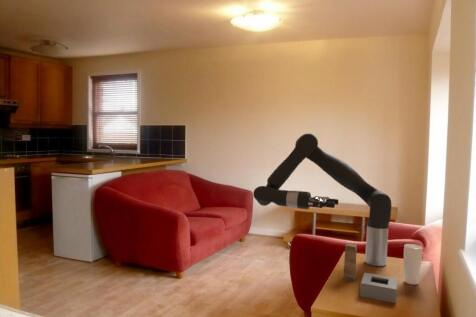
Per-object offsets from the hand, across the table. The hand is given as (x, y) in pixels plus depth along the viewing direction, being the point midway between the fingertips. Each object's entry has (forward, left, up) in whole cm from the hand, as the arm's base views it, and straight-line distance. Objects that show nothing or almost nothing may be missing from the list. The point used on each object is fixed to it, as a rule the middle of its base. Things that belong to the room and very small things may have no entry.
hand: (336, 203), depth 160 cm
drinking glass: (-6, +30, -30) cm, 43 cm away
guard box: (+12, +19, -30) cm, 38 cm away
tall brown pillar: (+2, +7, -30) cm, 31 cm away
